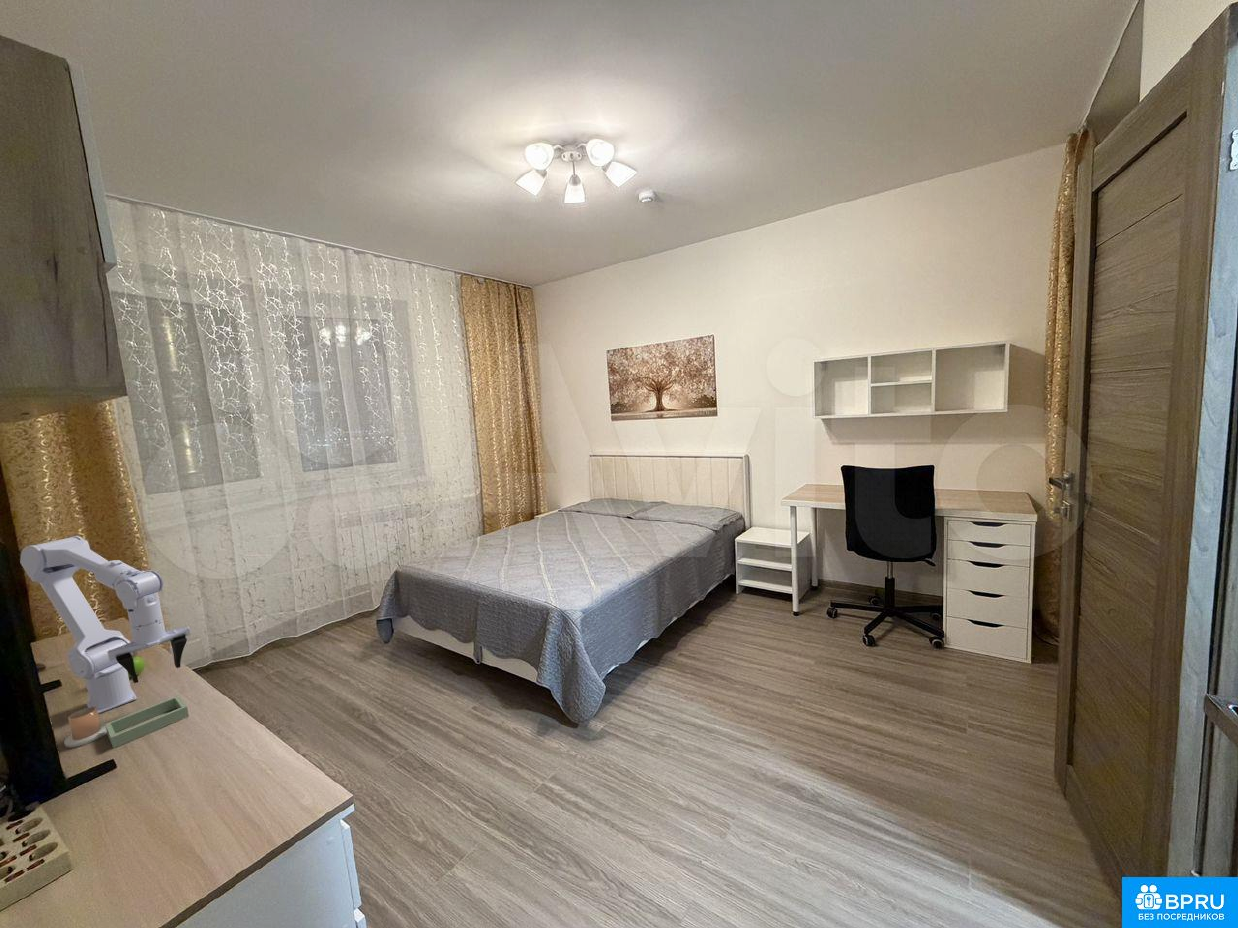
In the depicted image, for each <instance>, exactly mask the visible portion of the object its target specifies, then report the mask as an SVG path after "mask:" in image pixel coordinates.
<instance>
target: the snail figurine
mask: <svg viewBox="0 0 1238 928" xmlns="http://www.w3.org/2000/svg"><path fill="white" fill-rule="evenodd" d="M131 642H133V640H132V641H131ZM138 653H139V651H136V652H133V655H132V658H133V661H134V667H135V672H136V675H137V676H138V675H140V674H141V673H142V672H143V671H144V670H145V668H146V661H145V659H144V658H142V657H141V656H138ZM127 672H128V671H127ZM128 677H129V678H132V677H131V675H130V674H129V673H128Z"/></svg>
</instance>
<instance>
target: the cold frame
mask: <svg viewBox="0 0 1238 928" xmlns="http://www.w3.org/2000/svg"><path fill="white" fill-rule="evenodd" d="M177 708H178V709H177ZM171 710H172V711H171ZM169 711H170V712H169ZM167 712H168V713H167ZM163 713H165V714H163ZM161 714H162V715H161ZM189 715H190V714H189V710H188V706H187V704H186V703H185V702H184V701H183V700H182V698H181V696H180V695H176V696H173V697H171V698H170V697H169V698H168V699H166V700H162V701H160V702H158V703H156V704H153V705H151V706H148V707H145V708H143V709H139V710H138V711H135V712H132V713H129V714H128V715H127V714H126V715H125V716H123V717H120V718H116V719H115V720H112V721H109V722H106V723H107V724H105V726H106V730H107V734H106V735H107V737H108V739H109V741H110V743H111V745H112V748H113V749H115V748H118V747H119V746H122V745H124V744H127V743H130V742H132V741H134V740H136V739H138V738H141V737H144V736H146V735H149V734H150V733H153V732H155V731H158V730H159V729H162V728H165V727H167V726H170V725H172V724H173V723H176V722H179V721H181V720H183V718H184V719H185V718H186V719H187V717H188V718H189V717H190V716H189ZM151 718H152V719H151ZM149 719H150V720H149ZM146 720H147V721H146ZM137 724H138V725H137ZM132 726H133V727H132ZM129 727H130V728H129ZM127 728H128V729H127ZM122 730H123V731H122ZM120 731H121V732H120ZM117 732H118V733H117Z"/></svg>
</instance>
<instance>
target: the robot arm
mask: <svg viewBox="0 0 1238 928" xmlns="http://www.w3.org/2000/svg"><path fill="white" fill-rule="evenodd" d="M19 560H20V561H19V563H20V565H21V566H22V567H23V570H24V571H25V573H26V575H27V577H29V578H30V580H31V581H32V582H33V583H39V584H40V586H41V588H42V590H43V591H44V593H45V594H46V596H47V597H48V599H49V601H50V602H51V604H52V605H53V608H54V609H55V610H56V612H57V613H58V615H59V616H60V618H61V619H62V621H63V622H64V624H65V625H66V626H65V627H66V628H67V629H68V630H69V632H70V634H71V636H72V637H73V638H74V640H75V643H74V644H73V645H72V647H71V648H70V649H69V651H68V652H67V654H66V658H67V660H68V663H69V667H70V670H71V672H72V674H73V675H74V676H76V677H77V678H81V679H84V680H85V686H86V689H87V693H88V694H87V695H88V698H89V701H87V702H86V706H87V708H90V707H97V710H98V714H101V713H103V712H106V711H109V710H111V709H115V708H117V707H119V706H122V705H124V704H128V703H130V702H132V701H135V700H136V699H137V695H136V694H135V692H134V690H133V689H132V687H131V683H130V678H131V679H132V683H133V684H137V683H139V679H138V675H136V672H135V667H134V661H133V658H132V655H133V652H136V651H138V652H140V651H142V650H145V649H148V648H152V647H155V646H158V645H161V644H164V643H168V642H170V645H171V649H172V652H173V653H172V655H173V663H174V666H175V668H176V669H178V668H181V662H182V655H183V652H184V648H185V646H186V644H187V642H188V640H187V639H188V638H187V637H189V636H191V635H192V632H191V628H190V626H184V627H180V628H176V629H173V630H168V631H166V628H165V627H166V626H165V621H164V618H163V617H164V616H163V612H162V607H161V600H160V596H159V592H161V591H162V589H163V587H164V581H163V578H162V577H161V575H160V573H159V572H156V571H155V570H151V569H150V570H138V569H137V568H135V567H133V566H130V565H129V564H127V563H125V562H123V561H122V560H120V559H117V560H116V559H115V560H107V559H106V558H104V557H102V556H101V555H99V554H98V553H97V552H95V551H93V550H92V549H91V548H90V544H89V542H88V540H86V539H84V538H83V537H81V536H79V535H72V536H70V537H66V538H62V539H57V540H53V541H47V542H44V543H38V544H34V545H32V544H31V545H27V546H25V547H24V548H23V549H22V551H21V553H20V559H19ZM80 569H82V570H85V571H87V572H89V573H93V574H94V580H95V581H96V582H98V583H100V584H103V585H104V586H106V587H108V588H110V589H112V590H114V591H115V594H116V597H117V598H118V599H119V600H120V602H121V604H122V605H121V606H122V608H124V610H126V612H127V616H128V621H129V626H130V632H131V635H132V636H131V637H132V641H133V642H132V641H130V640H129V639H127V638H126V637H125V636H124V635H123V633H121V631H119V630H113V629H105V627H104V625H103V624H102V622H101V621H100V620H99V618H98V616H97V615H96V613H95V612H94V610H93V608H92V607H91V605H90V604H89V603H90V602H88V601H87V599H86V597H85V595H84V594H83V593H82V591H81V589H80V588H79V586H78V585H77V583H76V581H75V580H74V577H73V576H74V574H75V573H76V572H77V571H79V570H80ZM127 671H128V672H127ZM128 673H129V674H130V675H131V677H128Z"/></svg>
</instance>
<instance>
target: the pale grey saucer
mask: <svg viewBox="0 0 1238 928" xmlns="http://www.w3.org/2000/svg"><path fill="white" fill-rule="evenodd" d="M107 723H108V722H100V725H101V730H100V731H99V732H97V733H95V734H94V735H92V736H89V737H87V738H84V739H80V740H73V739H72V734H71V733H70V735H68V736H67V737H66V738H65V739H64V741H63V743H64V746H65V748H69V749H72V748H78V747H81V746H85V745H88V744H90V743H92V742H95V741H97V740H99V739H101V738H102V737H104V736H106V735H107V730H106V726H105V724H107Z"/></svg>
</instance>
